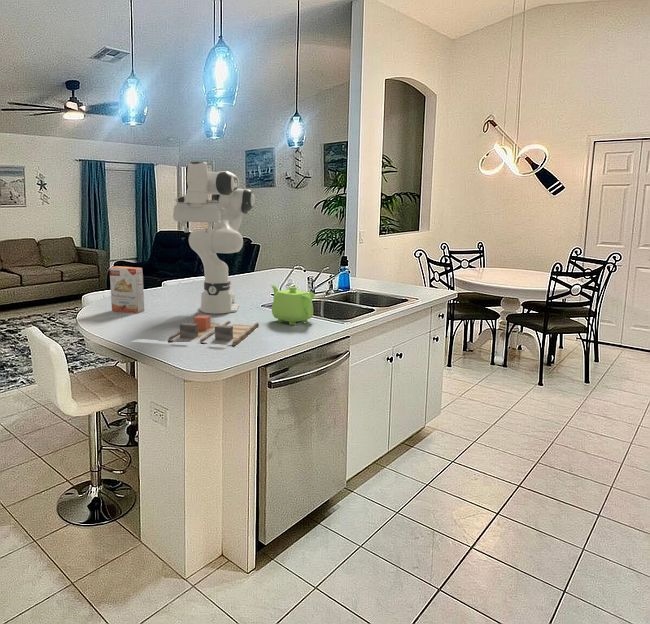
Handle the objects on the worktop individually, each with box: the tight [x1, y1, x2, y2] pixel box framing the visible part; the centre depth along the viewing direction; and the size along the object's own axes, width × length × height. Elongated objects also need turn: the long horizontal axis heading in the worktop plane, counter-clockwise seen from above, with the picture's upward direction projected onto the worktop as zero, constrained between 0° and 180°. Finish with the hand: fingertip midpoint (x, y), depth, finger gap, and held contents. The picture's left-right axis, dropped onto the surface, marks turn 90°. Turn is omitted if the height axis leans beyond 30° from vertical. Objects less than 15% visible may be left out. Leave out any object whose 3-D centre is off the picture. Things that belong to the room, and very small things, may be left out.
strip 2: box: [212, 324, 252, 342], centre depth 218 cm, size 26×8×6 cm, turn 171°
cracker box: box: [109, 265, 145, 314], centre depth 256 cm, size 14×6×21 cm, turn 76°
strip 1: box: [176, 322, 220, 340], centre depth 220 cm, size 26×8×6 cm, turn 171°
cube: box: [193, 314, 211, 330], centre depth 222 cm, size 5×5×5 cm
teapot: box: [270, 284, 316, 326], centre depth 246 cm, size 25×22×16 cm
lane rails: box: [168, 320, 260, 347], centre depth 219 cm, size 32×26×2 cm
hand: (197, 232), depth 233 cm, fingers open, 8 cm apart
